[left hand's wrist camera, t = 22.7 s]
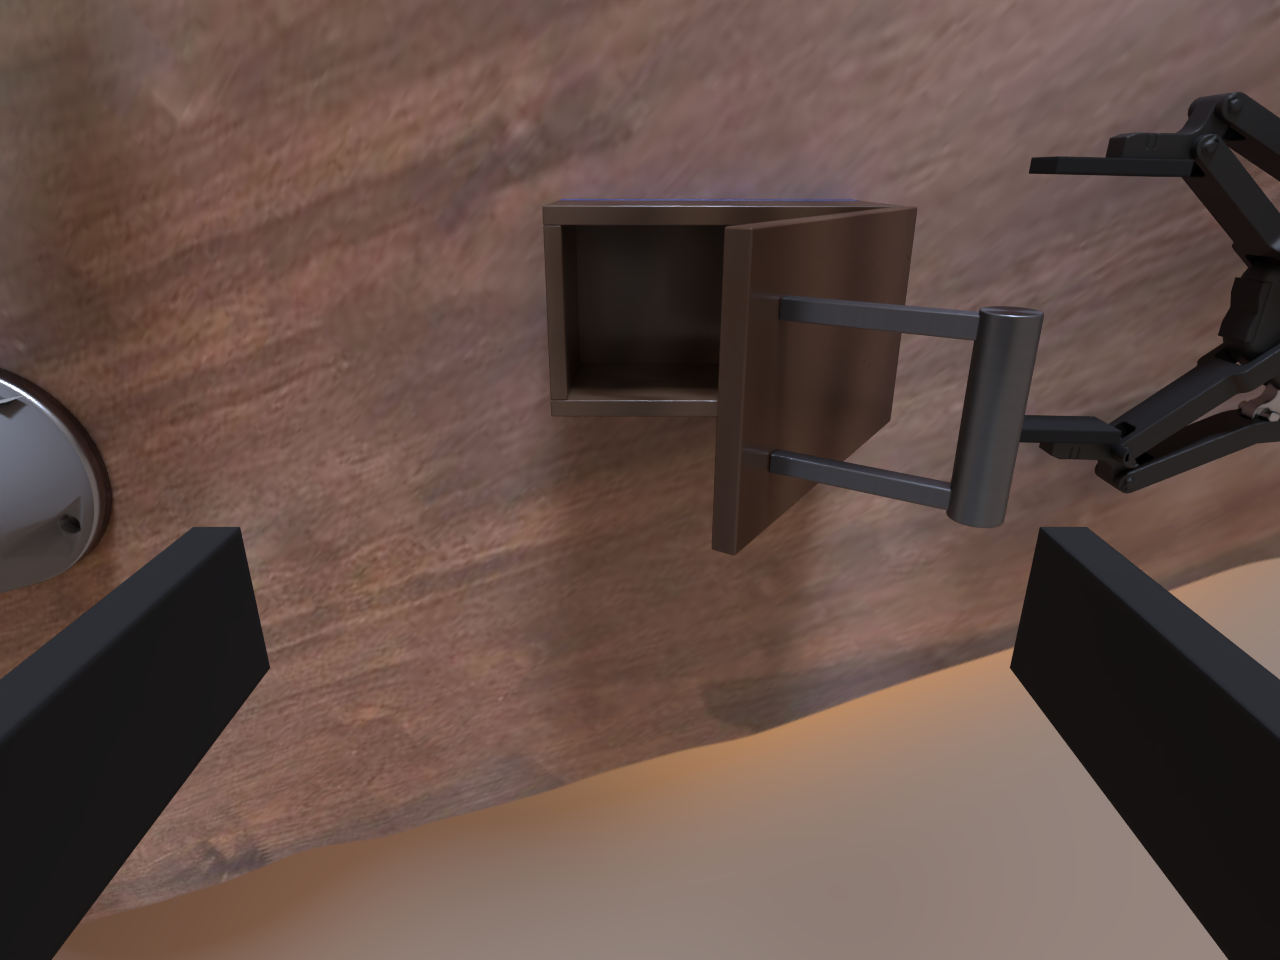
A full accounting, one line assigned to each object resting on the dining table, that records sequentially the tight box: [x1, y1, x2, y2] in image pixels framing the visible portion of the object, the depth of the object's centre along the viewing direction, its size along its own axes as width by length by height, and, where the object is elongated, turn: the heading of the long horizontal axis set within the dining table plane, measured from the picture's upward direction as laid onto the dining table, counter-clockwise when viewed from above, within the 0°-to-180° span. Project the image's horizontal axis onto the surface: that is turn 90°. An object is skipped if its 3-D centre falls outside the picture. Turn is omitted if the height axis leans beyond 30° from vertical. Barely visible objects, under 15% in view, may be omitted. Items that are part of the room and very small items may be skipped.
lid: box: [712, 207, 1044, 555], centre depth 29 cm, size 18×10×8 cm
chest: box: [543, 199, 904, 416], centre depth 42 cm, size 17×10×9 cm, turn 90°
